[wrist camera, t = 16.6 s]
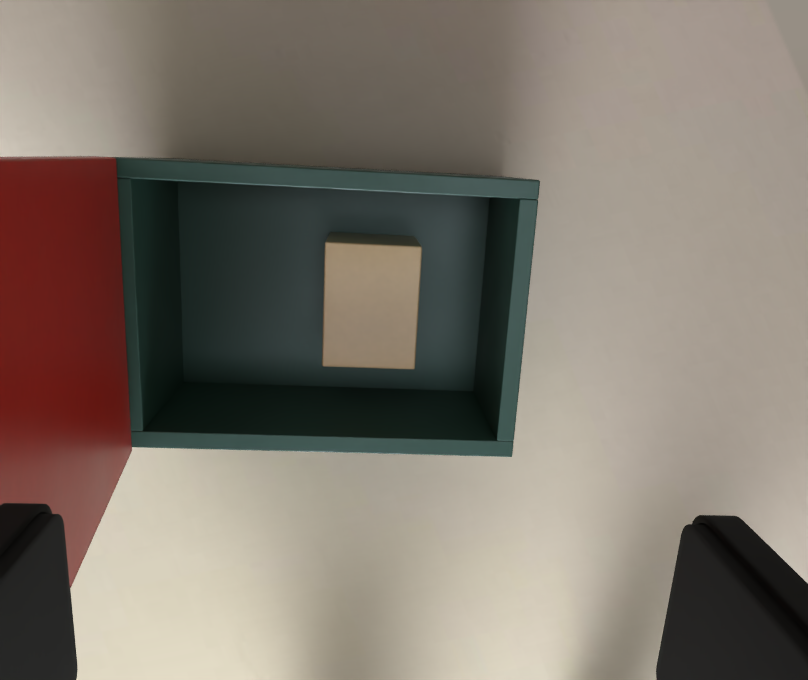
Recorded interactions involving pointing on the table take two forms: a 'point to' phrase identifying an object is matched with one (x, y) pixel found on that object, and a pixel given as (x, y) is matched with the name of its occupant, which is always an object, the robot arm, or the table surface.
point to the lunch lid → (62, 341)
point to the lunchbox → (317, 307)
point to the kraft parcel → (371, 300)
